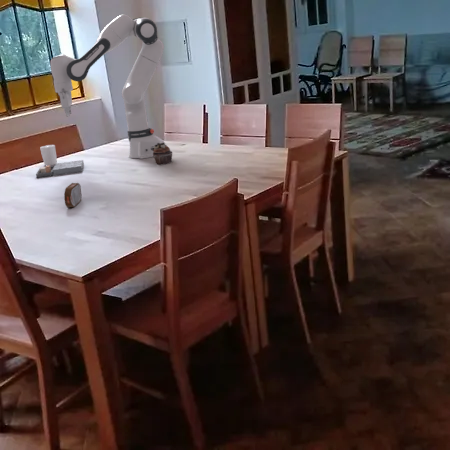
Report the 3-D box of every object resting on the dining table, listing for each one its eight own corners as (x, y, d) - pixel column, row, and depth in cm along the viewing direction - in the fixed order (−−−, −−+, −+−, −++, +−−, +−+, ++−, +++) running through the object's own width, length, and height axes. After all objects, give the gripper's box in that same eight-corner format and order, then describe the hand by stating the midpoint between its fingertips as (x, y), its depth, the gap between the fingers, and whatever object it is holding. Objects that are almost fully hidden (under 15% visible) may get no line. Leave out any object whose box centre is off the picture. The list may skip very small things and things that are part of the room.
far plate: (84, 165, 338) (83, 159, 337) (82, 171, 322) (81, 166, 322) (57, 169, 336) (56, 163, 335) (54, 175, 321) (52, 169, 320)
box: (56, 169, 336) (55, 165, 335) (53, 175, 321) (52, 172, 320) (40, 171, 335) (39, 167, 334) (36, 178, 320) (36, 174, 319)
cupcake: (172, 163, 317) (169, 143, 313) (153, 165, 317) (150, 145, 314) (174, 159, 326) (171, 140, 323) (155, 161, 326) (152, 142, 323)
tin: (77, 200, 268) (73, 180, 266) (84, 199, 268) (80, 179, 265) (65, 210, 254) (61, 190, 252) (73, 209, 254) (69, 189, 251)
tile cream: (40, 167, 332) (41, 171, 333) (39, 169, 329) (40, 172, 329) (48, 166, 333) (49, 170, 334) (47, 167, 329) (48, 171, 330)
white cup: (60, 162, 355) (56, 144, 352) (55, 165, 347) (51, 147, 344) (46, 163, 356) (43, 145, 353) (41, 166, 348) (37, 148, 345)
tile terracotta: (50, 165, 325) (46, 165, 325) (49, 166, 321) (45, 167, 321) (51, 172, 326) (47, 173, 326) (50, 174, 323) (46, 174, 323)
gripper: (68, 88, 316) (73, 116, 320) (71, 85, 336) (76, 112, 340) (55, 90, 316) (60, 118, 320) (59, 87, 335) (64, 113, 339)
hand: (68, 115), depth 330 cm, fingers open, 8 cm apart
